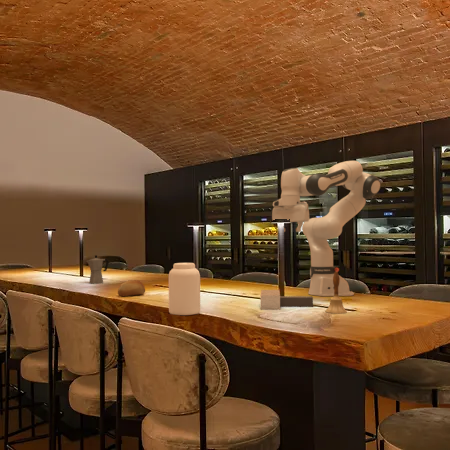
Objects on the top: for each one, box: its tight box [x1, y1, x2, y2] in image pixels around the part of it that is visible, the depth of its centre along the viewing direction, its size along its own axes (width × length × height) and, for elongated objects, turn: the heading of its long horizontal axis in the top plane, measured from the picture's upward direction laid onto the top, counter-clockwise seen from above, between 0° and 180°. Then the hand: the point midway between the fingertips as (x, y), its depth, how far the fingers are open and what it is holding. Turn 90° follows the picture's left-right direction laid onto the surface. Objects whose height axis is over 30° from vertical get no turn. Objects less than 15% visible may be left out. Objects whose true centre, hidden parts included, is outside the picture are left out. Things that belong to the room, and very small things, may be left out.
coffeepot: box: [85, 254, 110, 285], centre depth 336 cm, size 15×9×18 cm, turn 125°
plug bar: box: [280, 295, 314, 308], centre depth 223 cm, size 16×4×4 cm, turn 85°
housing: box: [260, 289, 281, 311], centre depth 224 cm, size 8×20×6 cm, turn 175°
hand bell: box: [325, 271, 348, 315], centre depth 205 cm, size 8×8×16 cm
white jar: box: [168, 262, 201, 316], centre depth 207 cm, size 12×12×20 cm
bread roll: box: [117, 279, 146, 298], centre depth 266 cm, size 10×15×8 cm, turn 128°
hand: (290, 231), depth 243 cm, fingers open, 8 cm apart
